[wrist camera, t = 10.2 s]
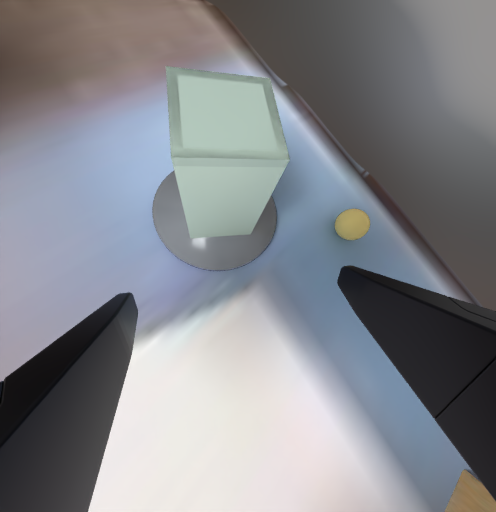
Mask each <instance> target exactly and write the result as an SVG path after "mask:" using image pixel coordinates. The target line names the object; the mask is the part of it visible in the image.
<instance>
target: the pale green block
mask: <svg viewBox="0 0 496 512" xmlns="http://www.w3.org/2000/svg"><path fill="white" fill-rule="evenodd" d="M166 77H167V95H168V112H169V129H170V146H171V159H172V163H173V167H174V171H175V176H176V180H177V184H178V188H179V192H180V196H181V201H182V205H183V209H184V213H185V217H186V222H187V226H188V230H189V234H190V238H204V237H219V236H234V235H248V234H251V233H252V231H253V229H254V227H255V225H256V223H257V221H258V219H259V217H260V215H261V214H262V212H263V210H264V208H265V206H266V204H267V202H268V200H269V198H270V196H271V195H272V193H273V191H274V189H275V187H276V185H277V183H278V181H279V179H280V178H281V176H282V174H283V172H284V170H285V168H286V166H287V164H288V162H289V160H290V158H289V154H288V150H287V146H286V142H285V138H284V134H283V130H282V126H281V122H280V117H279V113H278V109H277V105H276V101H275V97H274V93H273V89H272V85H271V81H270V78H261V77H253V76H244V75H236V74H228V73H219V72H211V71H202V70H194V69H185V68H177V67H168V66H166Z"/></svg>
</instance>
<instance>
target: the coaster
mask: <svg viewBox="0 0 496 512" xmlns="http://www.w3.org/2000/svg"><path fill="white" fill-rule="evenodd" d="M152 210H153V221H154V225H155V228H156V231H157V233H158V235H159V237H160V239H161V240H162V242H163V243H164V245H165V246H166V247H167V249H168V250H169V251H170V252H171V253H172V254H173V255H175V256H176V257H177V258H179V259H180V260H182V261H183V262H185V263H187V264H189V265H191V266H194V267H196V268H200V269H204V270H210V271H225V270H232V269H236V268H239V267H241V266H244V265H246V264H248V263H250V262H251V261H253V260H254V259H255V258H257V257H258V256H259V255H260V254H261V253H262V252H263V251H264V250H265V248H266V247H267V246H268V244H269V243H270V241H271V239H272V237H273V234H274V232H275V227H276V219H277V216H276V208H275V203H274V201H273V198H272V196H270V198H269V200H268V202H267V204H266V206H265V208H264V210H263V212H262V214H261V215H260V217H259V219H258V221H257V223H256V225H255V227H254V229H253V231H252V233H251V234H248V235H234V236H219V237H204V238H190V234H189V230H188V226H187V222H186V217H185V213H184V209H183V205H182V201H181V196H180V192H179V188H178V184H177V180H176V176H175V171H173V172H171V173H170V174H169V175H168V176H167V177H166V178H165V179H164V180H163V181H162V183H161V185H160V186H159V188H158V190H157V192H156V194H155V197H154V201H153V209H152Z"/></svg>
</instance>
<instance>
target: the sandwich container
mask: <svg viewBox="0 0 496 512" xmlns="http://www.w3.org/2000/svg"><path fill="white" fill-rule="evenodd" d="M445 512H496V501H495V500H494V499H493V497H492V496H491V495H490V493H489V492H488V491H487V489H486V488H485V487H484V485H483V484H482V483H481V482H480V481H479V480H477V479H476V478H475V477H474V476H472V475H471V474H470V473H469V472H468V471H466V470H465V469H464V470H463V471H462V473H461V476H460V478H459V480H458V482H457V485H456V487H455V489H454V491H453V494H452V496H451V498H450V501H449V503H448V505H447V507H446V510H445Z"/></svg>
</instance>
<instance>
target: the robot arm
mask: <svg viewBox="0 0 496 512" xmlns="http://www.w3.org/2000/svg"><path fill="white" fill-rule="evenodd" d="M337 283H338V286H339V288H340V289H341V291H342V293H343V294H344V296H345V297H346V299H347V301H348V302H349V304H350V306H351V307H352V309H353V310H354V312H355V313H356V315H357V316H358V318H359V319H360V320H361V322H362V323H363V324H364V326H365V327H366V328H367V330H368V331H369V332H370V334H371V335H372V336H373V338H374V339H375V340H376V342H377V343H378V344H379V346H380V347H381V348H382V350H383V351H384V352H385V354H386V355H387V356H388V358H389V359H390V360H391V362H392V363H393V364H394V366H395V367H396V368H397V370H398V371H399V372H400V374H401V375H402V376H403V378H404V379H405V380H406V382H407V383H408V384H409V386H410V387H411V388H412V390H413V391H414V392H415V394H416V395H417V397H418V398H419V399H420V401H421V402H422V403H423V405H424V406H425V407H426V409H427V410H428V411H429V413H430V414H431V415H432V417H433V418H435V421H436V422H437V424H438V425H439V426H440V428H441V429H442V430H443V432H444V433H445V434H446V436H447V437H448V438H449V440H450V441H451V442H452V444H453V445H454V446H455V448H456V449H457V450H458V452H459V453H460V454H461V456H462V457H463V458H464V460H465V461H466V462H467V464H468V465H469V466H470V468H471V469H472V471H473V472H474V473H475V475H476V476H477V477H478V479H479V480H480V481H481V483H482V484H483V485H484V487H485V488H486V489H487V491H488V492H489V493H490V495H491V496H492V497H493V499H494V500H495V501H496V311H493V310H490V309H486V308H483V307H480V306H477V305H473V304H470V303H467V302H464V301H461V300H457V299H454V298H451V297H447V296H445V295H442V294H439V293H436V292H432V291H429V290H426V289H423V288H420V287H417V286H414V285H411V284H408V283H404V282H401V281H398V280H395V279H392V278H389V277H386V276H383V275H380V274H376V273H373V272H370V271H367V270H364V269H361V268H358V267H355V266H343V267H342V268H341V271H340V274H339V277H338V282H337ZM137 317H138V309H137V306H136V303H135V300H134V297H133V294H132V293H130V292H129V293H120V294H118V295H116V296H115V297H113V298H112V299H111V300H109V301H108V302H107V303H105V304H104V305H103V306H101V307H100V308H99V309H97V310H96V311H95V312H93V313H92V314H91V315H89V316H88V317H87V318H85V319H84V320H83V321H81V322H80V323H79V324H77V325H76V326H75V327H73V328H72V329H70V330H69V331H68V332H66V333H65V334H64V335H62V336H61V337H60V338H58V339H57V340H56V341H54V342H53V343H52V344H50V345H49V346H48V347H46V348H45V349H44V350H42V351H41V352H40V353H38V354H37V355H35V356H34V357H33V358H31V359H30V360H29V361H27V362H26V363H25V364H23V365H22V366H21V367H19V368H18V369H17V370H15V371H14V372H13V373H11V374H10V375H9V376H7V377H6V378H5V379H4V381H1V382H0V512H88V509H89V506H90V502H91V499H92V495H93V492H94V488H95V484H96V481H97V477H98V474H99V470H100V466H101V463H102V459H103V456H104V452H105V449H106V445H107V441H108V438H109V434H110V431H111V427H112V423H113V420H114V416H115V413H116V409H117V406H118V402H119V398H120V395H121V391H122V388H123V384H124V381H125V377H126V373H127V370H128V366H129V363H130V359H131V355H132V350H133V343H134V337H135V330H136V324H137Z"/></svg>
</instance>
